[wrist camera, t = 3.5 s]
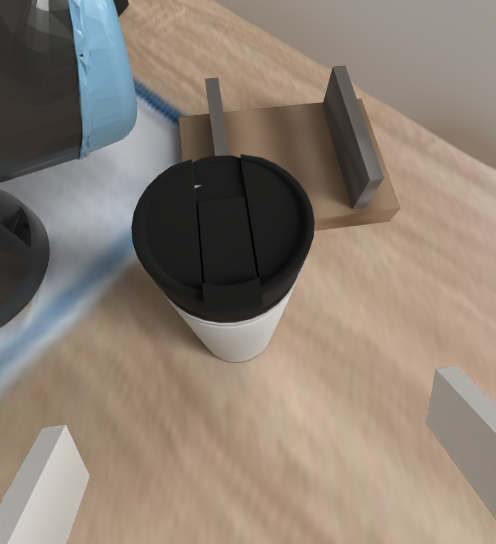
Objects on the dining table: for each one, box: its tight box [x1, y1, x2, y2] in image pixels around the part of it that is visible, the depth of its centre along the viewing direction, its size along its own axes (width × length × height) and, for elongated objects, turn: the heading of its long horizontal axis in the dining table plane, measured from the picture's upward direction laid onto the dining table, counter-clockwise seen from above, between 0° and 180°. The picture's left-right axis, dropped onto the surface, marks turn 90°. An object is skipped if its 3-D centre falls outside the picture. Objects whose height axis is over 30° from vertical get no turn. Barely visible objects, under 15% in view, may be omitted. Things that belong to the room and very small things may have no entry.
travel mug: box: [131, 154, 315, 363], centre depth 20 cm, size 6×7×20 cm
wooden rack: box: [179, 66, 400, 231], centre depth 32 cm, size 20×14×7 cm
